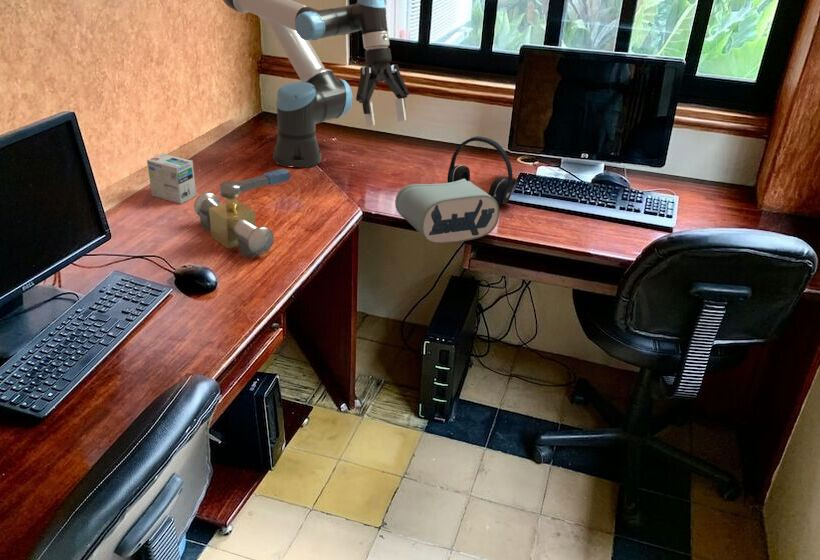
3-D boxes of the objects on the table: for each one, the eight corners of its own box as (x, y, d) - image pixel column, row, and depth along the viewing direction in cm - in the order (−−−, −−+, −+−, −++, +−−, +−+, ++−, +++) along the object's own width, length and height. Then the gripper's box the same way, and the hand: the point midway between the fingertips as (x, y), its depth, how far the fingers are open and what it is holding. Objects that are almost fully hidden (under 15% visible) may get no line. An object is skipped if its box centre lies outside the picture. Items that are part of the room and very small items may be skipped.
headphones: (513, 203, 215) (521, 144, 206) (501, 211, 210) (509, 150, 201) (455, 184, 224) (461, 127, 215) (443, 191, 219) (448, 132, 210)
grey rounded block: (421, 249, 186) (423, 202, 180) (392, 220, 202) (394, 176, 196) (496, 238, 195) (501, 192, 189) (464, 211, 210) (467, 168, 204)
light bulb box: (197, 196, 206) (193, 160, 200) (181, 204, 201) (177, 167, 195) (167, 187, 209) (162, 152, 204) (150, 196, 204) (145, 159, 199)
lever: (227, 199, 177) (226, 190, 175) (216, 193, 179) (216, 184, 178) (291, 181, 188) (291, 172, 187) (281, 175, 191) (280, 167, 190)
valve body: (193, 224, 191) (189, 181, 185) (220, 216, 196) (217, 174, 190) (248, 262, 175) (246, 217, 169) (276, 253, 180) (274, 208, 174)
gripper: (355, 48, 201) (366, 126, 206) (415, 45, 218) (423, 117, 223) (337, 51, 206) (347, 128, 211) (396, 49, 223) (405, 119, 228)
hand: (386, 123), depth 217 cm, fingers open, 13 cm apart
